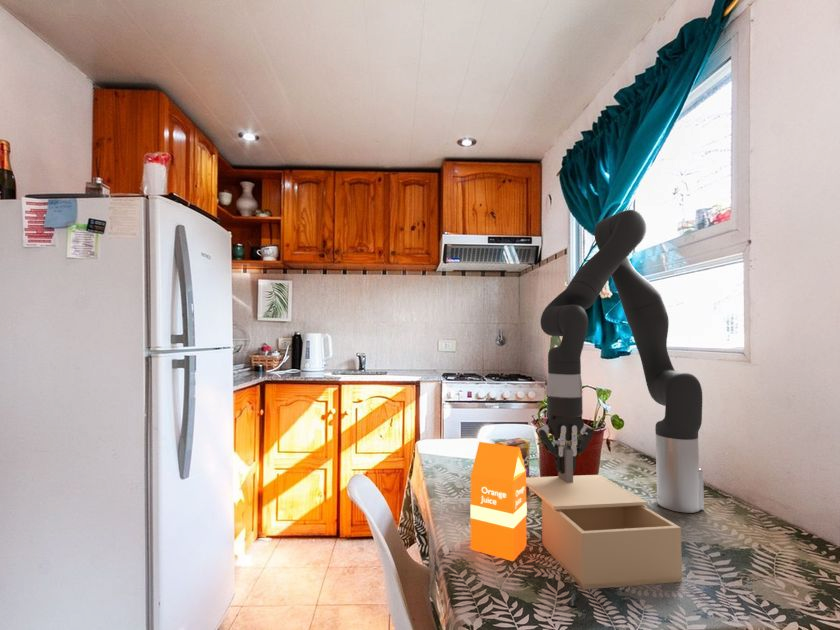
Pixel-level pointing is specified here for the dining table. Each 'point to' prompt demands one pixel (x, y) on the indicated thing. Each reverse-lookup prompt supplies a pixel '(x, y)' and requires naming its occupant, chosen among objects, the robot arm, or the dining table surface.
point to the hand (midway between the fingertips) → (565, 472)
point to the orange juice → (498, 501)
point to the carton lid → (580, 489)
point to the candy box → (525, 452)
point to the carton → (613, 545)
